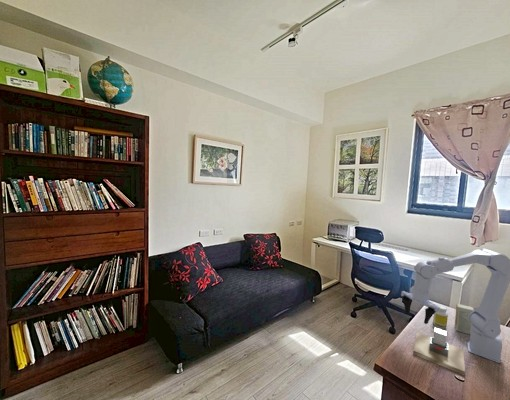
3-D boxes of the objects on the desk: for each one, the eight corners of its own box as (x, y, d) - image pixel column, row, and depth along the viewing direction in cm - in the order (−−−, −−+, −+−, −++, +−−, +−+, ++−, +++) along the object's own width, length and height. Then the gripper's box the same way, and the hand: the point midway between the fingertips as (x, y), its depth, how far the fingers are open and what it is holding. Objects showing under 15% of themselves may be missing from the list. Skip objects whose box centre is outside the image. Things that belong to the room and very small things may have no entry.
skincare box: (470, 330, 114) (473, 306, 113) (472, 335, 111) (475, 310, 110) (453, 326, 118) (456, 302, 117) (455, 330, 114) (457, 306, 113)
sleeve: (447, 349, 98) (448, 342, 98) (447, 358, 93) (448, 351, 92) (429, 342, 102) (430, 336, 101) (429, 350, 96) (429, 344, 96)
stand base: (462, 352, 99) (462, 349, 98) (464, 375, 86) (465, 371, 86) (416, 335, 109) (417, 332, 109) (413, 353, 96) (413, 350, 96)
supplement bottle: (448, 329, 114) (451, 310, 114) (436, 328, 115) (438, 309, 115) (442, 323, 120) (444, 305, 119) (430, 321, 121) (432, 303, 120)
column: (444, 349, 98) (446, 331, 97) (444, 354, 94) (446, 336, 94) (432, 344, 100) (434, 327, 100) (432, 349, 97) (434, 331, 96)
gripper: (399, 283, 107) (395, 311, 108) (436, 299, 95) (430, 330, 96) (407, 281, 111) (402, 308, 112) (443, 296, 98) (438, 326, 100)
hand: (416, 318), depth 104 cm, fingers open, 7 cm apart
